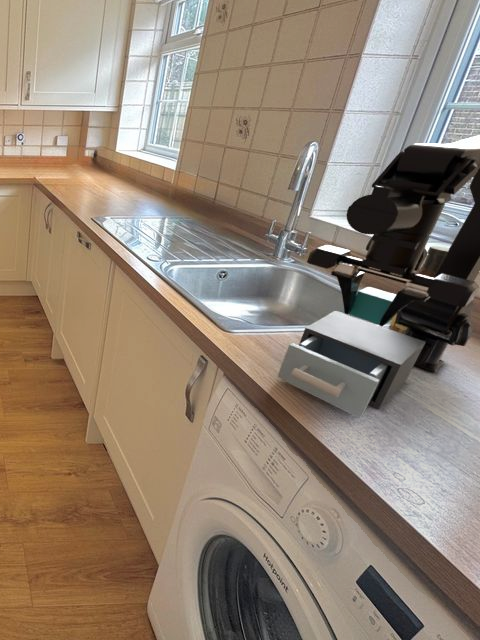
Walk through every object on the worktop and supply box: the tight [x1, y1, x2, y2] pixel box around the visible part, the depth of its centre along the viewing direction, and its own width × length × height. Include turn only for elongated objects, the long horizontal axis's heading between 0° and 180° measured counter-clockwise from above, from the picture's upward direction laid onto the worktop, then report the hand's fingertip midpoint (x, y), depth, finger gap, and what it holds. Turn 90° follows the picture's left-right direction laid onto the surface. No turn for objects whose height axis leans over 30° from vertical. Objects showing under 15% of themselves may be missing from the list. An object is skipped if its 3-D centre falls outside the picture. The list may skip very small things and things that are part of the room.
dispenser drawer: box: [276, 335, 392, 419], centre depth 68 cm, size 17×11×7 cm
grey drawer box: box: [298, 310, 425, 410], centre depth 73 cm, size 14×13×9 cm
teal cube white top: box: [348, 286, 397, 325], centre depth 69 cm, size 4×4×4 cm
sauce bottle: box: [388, 245, 450, 334], centre depth 86 cm, size 7×6×20 cm
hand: (364, 319), depth 68 cm, fingers closed on teal cube white top, 4 cm apart
